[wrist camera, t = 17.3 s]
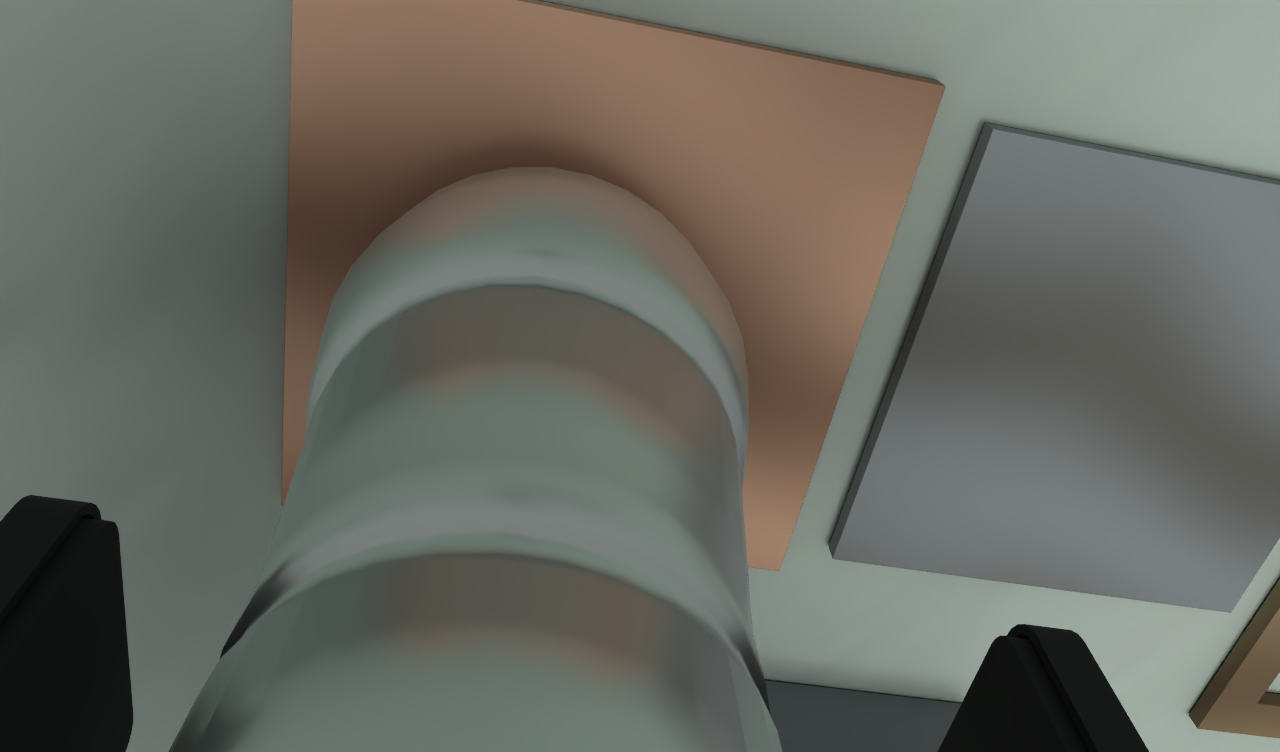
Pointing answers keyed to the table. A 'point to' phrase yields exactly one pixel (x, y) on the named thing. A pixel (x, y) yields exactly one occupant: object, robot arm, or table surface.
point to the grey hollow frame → (856, 720)
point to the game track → (863, 291)
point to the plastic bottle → (510, 497)
